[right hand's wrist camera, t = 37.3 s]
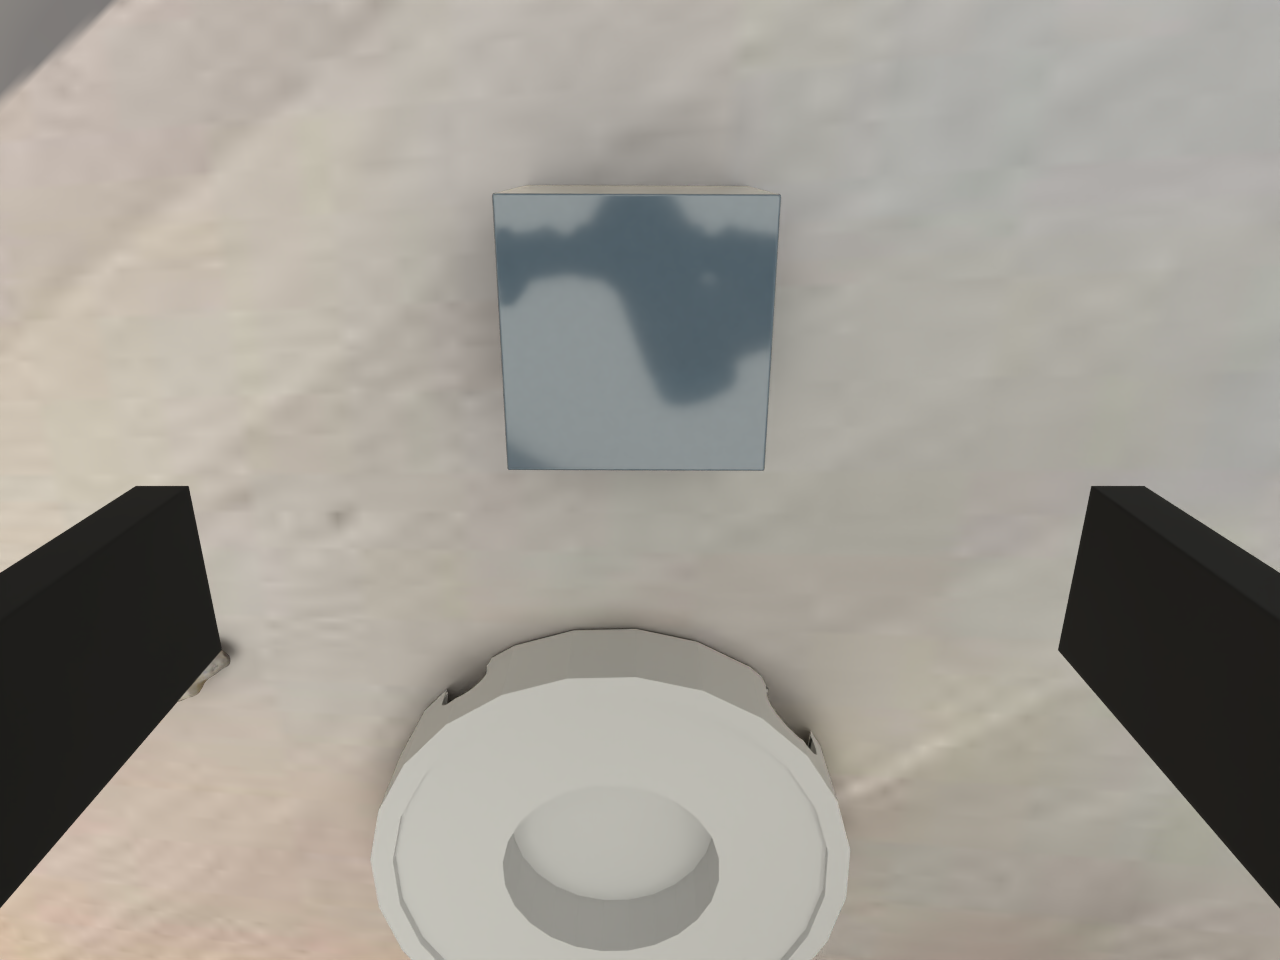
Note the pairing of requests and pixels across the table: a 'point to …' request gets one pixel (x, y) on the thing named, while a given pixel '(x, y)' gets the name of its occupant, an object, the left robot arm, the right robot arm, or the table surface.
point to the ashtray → (610, 813)
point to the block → (636, 325)
